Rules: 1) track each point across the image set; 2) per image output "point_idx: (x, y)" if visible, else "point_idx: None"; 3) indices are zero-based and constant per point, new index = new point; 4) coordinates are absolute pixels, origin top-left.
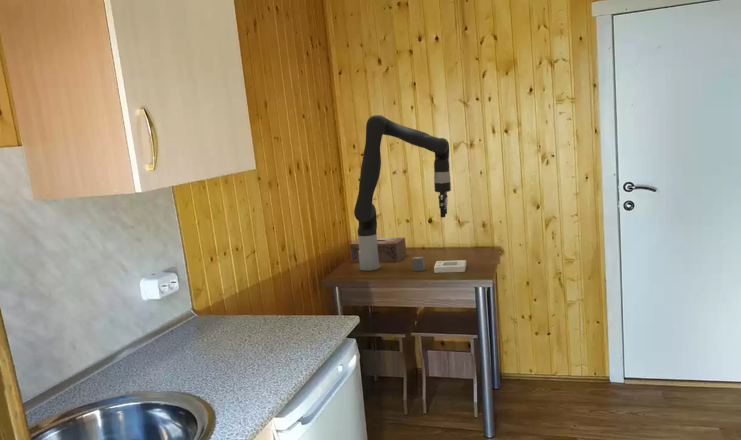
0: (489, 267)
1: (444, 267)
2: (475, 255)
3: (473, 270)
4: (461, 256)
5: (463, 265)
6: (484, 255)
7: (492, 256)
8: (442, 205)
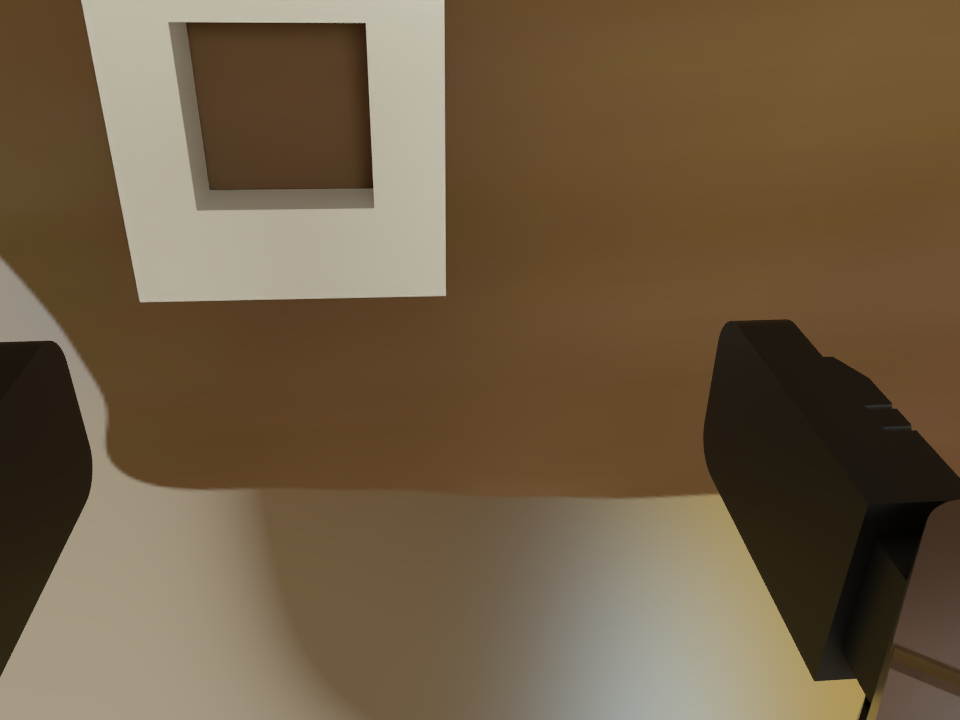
0: (328, 481)
1: (92, 57)
2: (865, 331)
3: (214, 355)
4: (880, 185)
5: (182, 288)
6: None
7: None
8: (914, 568)
